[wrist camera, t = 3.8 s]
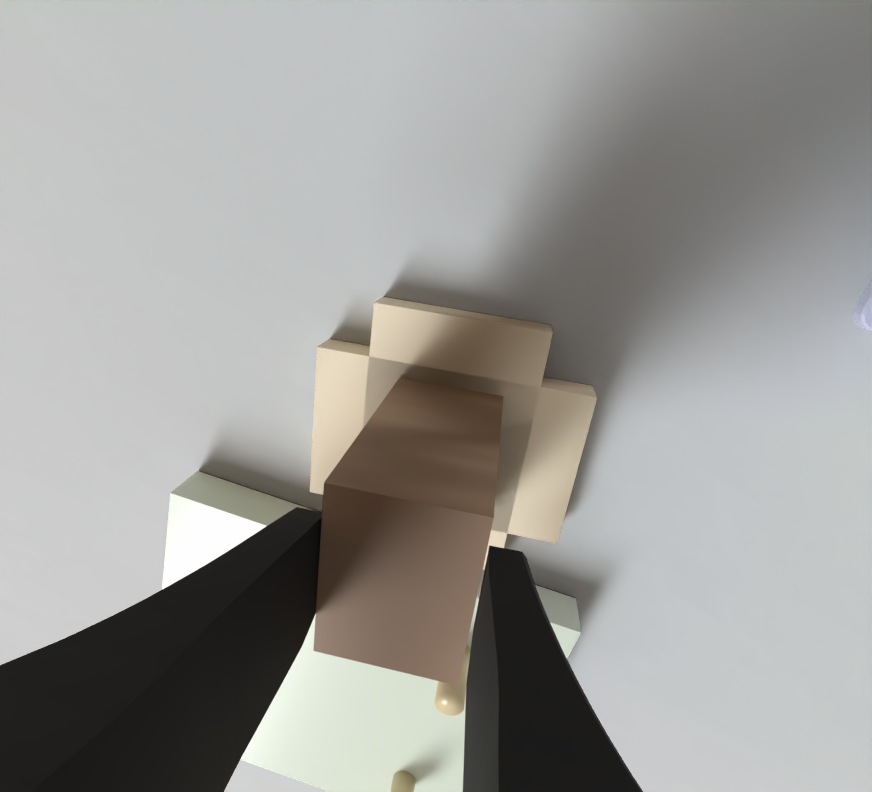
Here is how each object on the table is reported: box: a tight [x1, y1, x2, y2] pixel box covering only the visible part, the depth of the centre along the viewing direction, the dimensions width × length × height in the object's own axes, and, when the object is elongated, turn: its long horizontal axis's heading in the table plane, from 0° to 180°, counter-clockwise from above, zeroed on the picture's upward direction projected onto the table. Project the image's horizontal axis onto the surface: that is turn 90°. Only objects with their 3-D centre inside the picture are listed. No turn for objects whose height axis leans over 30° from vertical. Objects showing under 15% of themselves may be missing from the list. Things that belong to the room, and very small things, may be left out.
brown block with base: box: [310, 297, 597, 686], centre depth 13 cm, size 8×8×7 cm
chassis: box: [162, 471, 581, 792], centre depth 18 cm, size 14×12×4 cm
